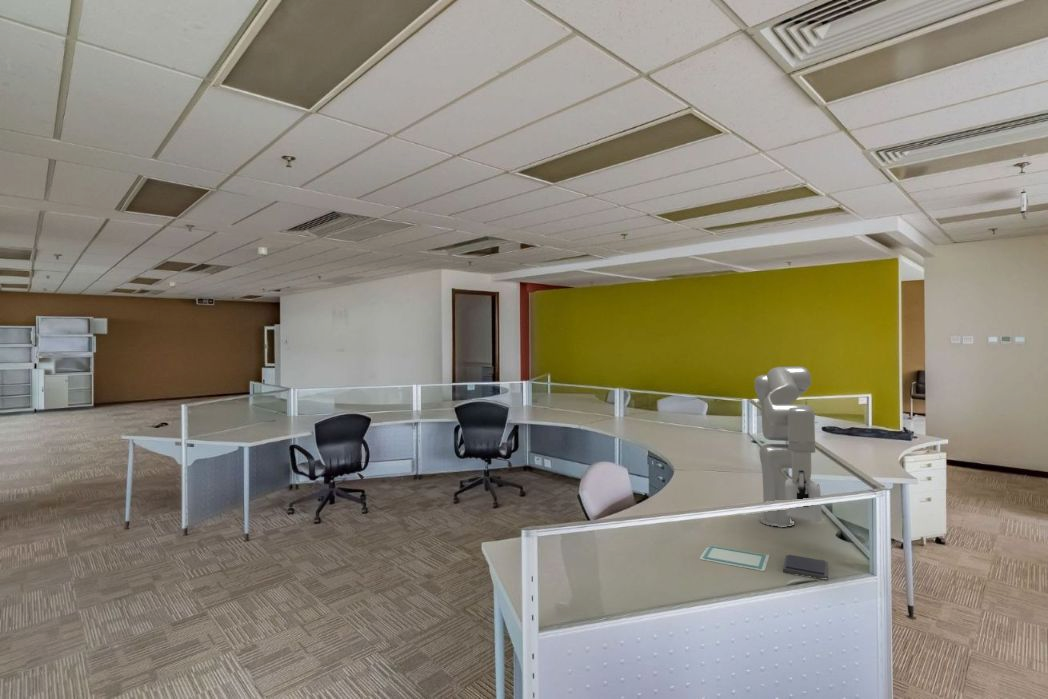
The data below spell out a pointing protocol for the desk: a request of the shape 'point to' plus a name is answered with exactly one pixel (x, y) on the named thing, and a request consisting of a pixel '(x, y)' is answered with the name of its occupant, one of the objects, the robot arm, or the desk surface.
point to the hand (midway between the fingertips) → (803, 502)
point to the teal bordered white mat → (735, 557)
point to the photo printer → (803, 512)
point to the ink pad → (805, 566)
